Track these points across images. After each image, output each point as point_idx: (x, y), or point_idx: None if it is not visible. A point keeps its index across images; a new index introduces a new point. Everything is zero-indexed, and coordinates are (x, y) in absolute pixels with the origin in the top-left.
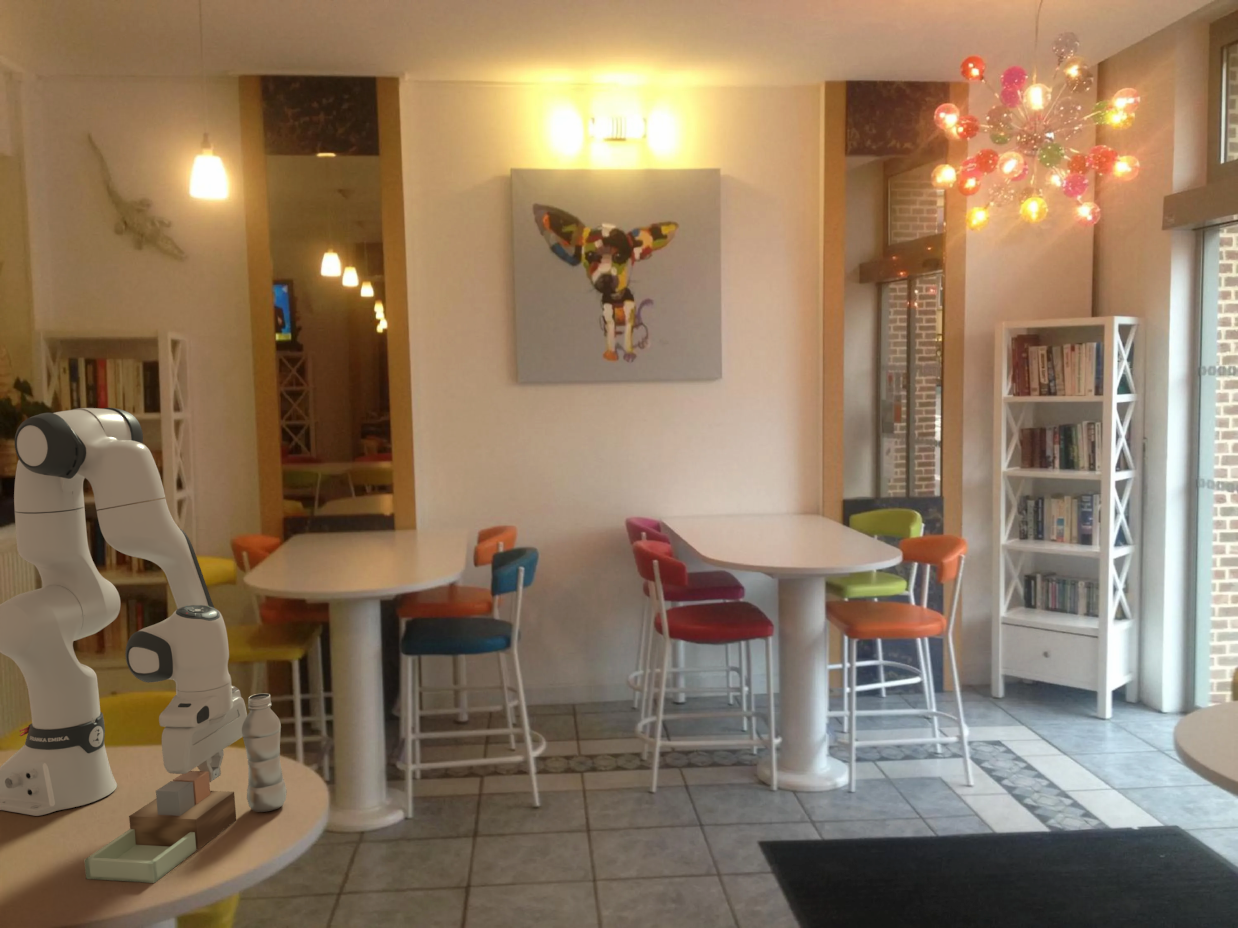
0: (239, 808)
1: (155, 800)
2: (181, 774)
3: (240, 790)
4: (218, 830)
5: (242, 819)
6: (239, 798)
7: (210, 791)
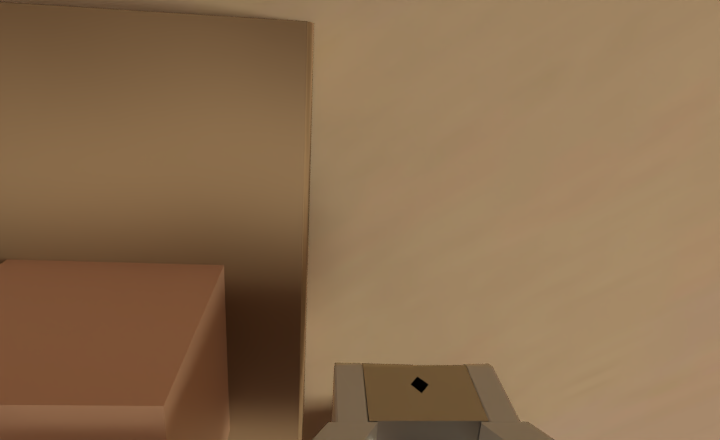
0: (445, 351)
1: (9, 31)
2: (22, 406)
3: (696, 238)
4: None
5: (314, 426)
6: (579, 288)
7: (284, 402)
